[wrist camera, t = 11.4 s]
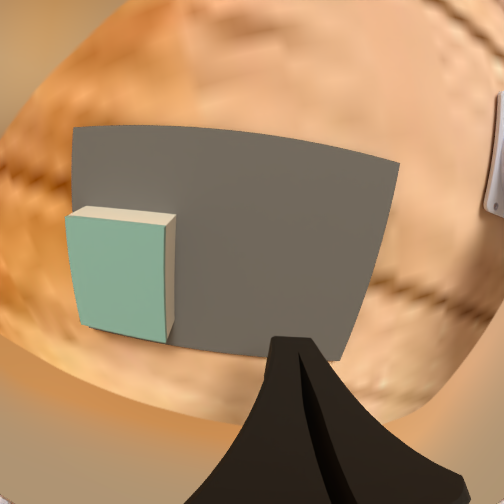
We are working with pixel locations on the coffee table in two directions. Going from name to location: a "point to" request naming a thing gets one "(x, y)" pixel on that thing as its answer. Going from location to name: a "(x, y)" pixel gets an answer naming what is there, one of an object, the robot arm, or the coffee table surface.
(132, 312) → the tile
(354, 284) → the mat
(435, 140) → the coffee table surface
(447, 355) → the coffee table surface
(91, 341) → the coffee table surface
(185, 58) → the coffee table surface
